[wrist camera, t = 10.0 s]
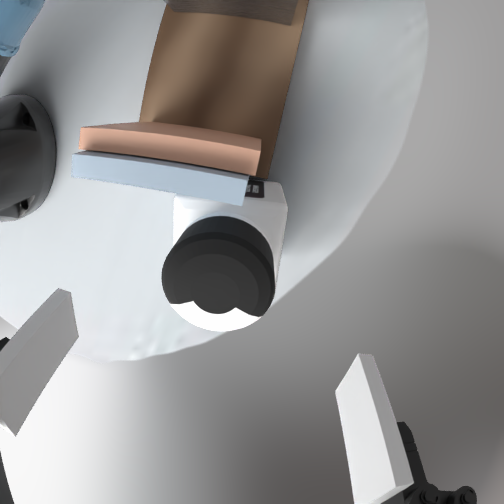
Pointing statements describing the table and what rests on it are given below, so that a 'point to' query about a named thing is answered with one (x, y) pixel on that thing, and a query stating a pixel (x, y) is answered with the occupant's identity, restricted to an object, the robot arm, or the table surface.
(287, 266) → the table surface
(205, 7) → the bookend
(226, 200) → the books
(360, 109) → the table surface
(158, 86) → the shelf
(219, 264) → the container
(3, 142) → the robot arm
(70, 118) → the table surface
